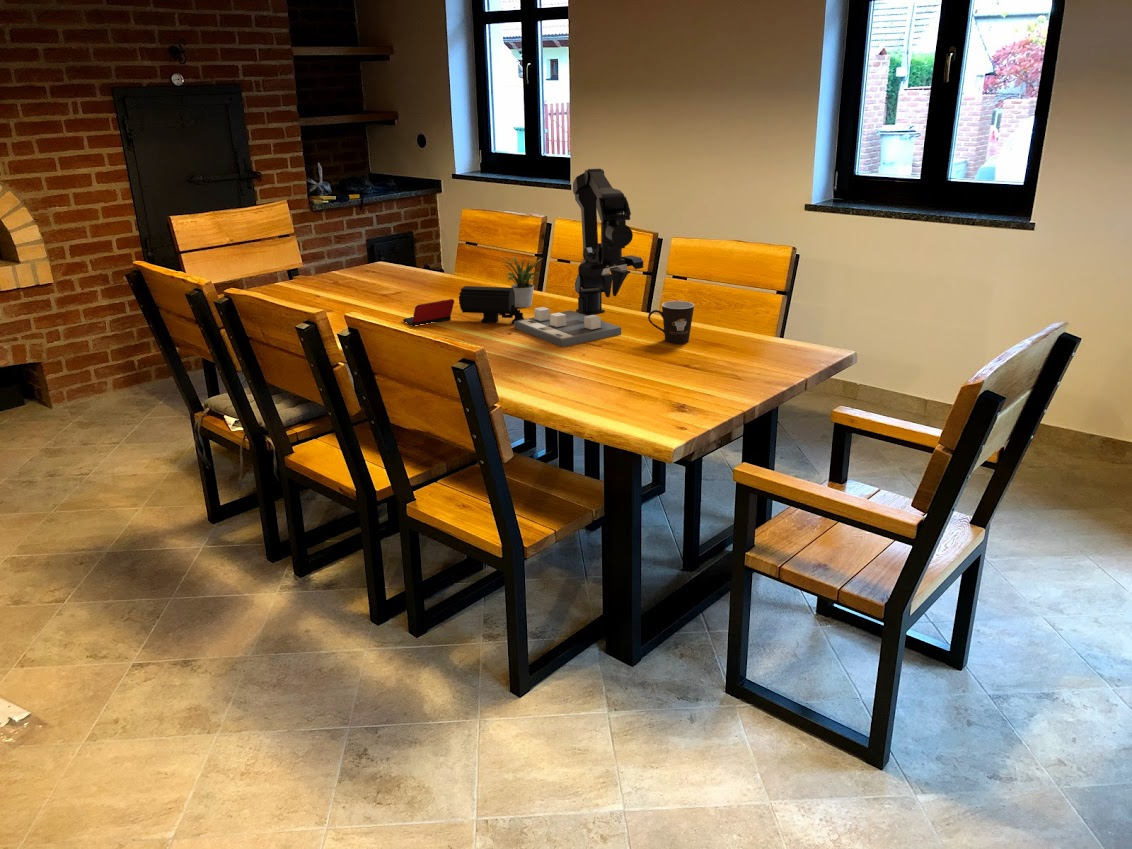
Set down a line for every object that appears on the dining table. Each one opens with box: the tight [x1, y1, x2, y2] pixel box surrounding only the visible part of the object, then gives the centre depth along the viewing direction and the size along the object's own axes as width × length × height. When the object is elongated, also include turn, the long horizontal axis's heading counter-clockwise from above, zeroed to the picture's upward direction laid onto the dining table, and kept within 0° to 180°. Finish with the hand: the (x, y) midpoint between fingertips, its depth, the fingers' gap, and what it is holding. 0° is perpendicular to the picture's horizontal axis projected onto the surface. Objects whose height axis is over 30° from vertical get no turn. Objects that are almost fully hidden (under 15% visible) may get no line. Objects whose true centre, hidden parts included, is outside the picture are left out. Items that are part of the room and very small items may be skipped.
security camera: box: [458, 285, 525, 325], centre depth 265 cm, size 7×18×10 cm, turn 78°
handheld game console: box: [402, 298, 455, 327], centre depth 266 cm, size 12×11×7 cm
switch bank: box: [513, 309, 622, 348], centre depth 256 cm, size 20×24×2 cm
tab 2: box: [550, 311, 566, 327], centre depth 253 cm, size 3×3×3 cm
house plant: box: [501, 253, 544, 309], centre depth 281 cm, size 14×14×16 cm
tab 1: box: [533, 306, 551, 321], centre depth 259 cm, size 3×3×3 cm
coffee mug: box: [647, 300, 695, 345], centre depth 244 cm, size 12×9×10 cm
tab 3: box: [584, 314, 602, 330], centre depth 250 cm, size 3×3×3 cm
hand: (611, 296), depth 252 cm, fingers open, 2 cm apart
